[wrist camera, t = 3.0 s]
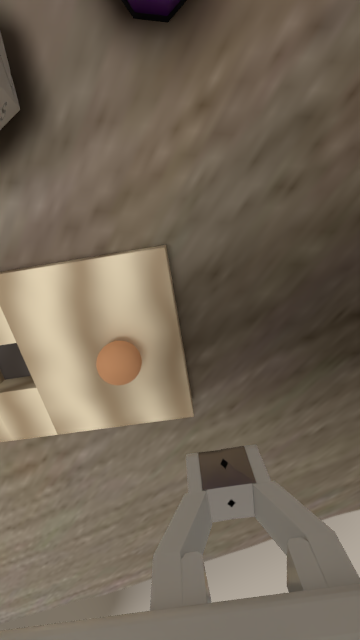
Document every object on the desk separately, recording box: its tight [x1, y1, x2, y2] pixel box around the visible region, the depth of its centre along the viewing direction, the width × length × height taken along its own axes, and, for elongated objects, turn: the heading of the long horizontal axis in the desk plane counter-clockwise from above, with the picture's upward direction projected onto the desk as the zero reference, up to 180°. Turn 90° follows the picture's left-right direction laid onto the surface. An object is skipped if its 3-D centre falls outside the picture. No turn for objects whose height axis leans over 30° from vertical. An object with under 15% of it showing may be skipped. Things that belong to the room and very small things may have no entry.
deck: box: [0, 245, 194, 442], centre depth 21 cm, size 22×16×4 cm
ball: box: [96, 341, 142, 385], centre depth 19 cm, size 4×4×4 cm
